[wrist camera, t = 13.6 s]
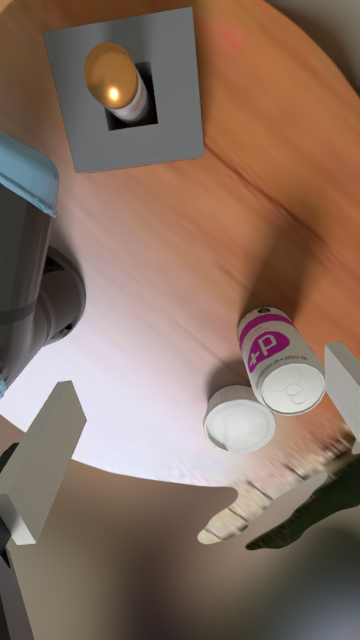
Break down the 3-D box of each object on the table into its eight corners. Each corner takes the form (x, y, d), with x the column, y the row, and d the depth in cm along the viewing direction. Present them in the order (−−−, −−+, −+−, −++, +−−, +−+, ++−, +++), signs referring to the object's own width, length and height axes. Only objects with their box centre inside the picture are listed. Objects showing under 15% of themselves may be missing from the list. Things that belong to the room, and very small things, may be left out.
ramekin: (188, 402, 55) (189, 424, 50) (241, 366, 52) (247, 386, 47) (229, 440, 58) (233, 464, 53) (280, 408, 55) (290, 431, 50)
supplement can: (225, 325, 49) (240, 384, 35) (273, 294, 46) (309, 344, 33) (254, 362, 51) (278, 430, 37) (300, 335, 49) (344, 397, 35)
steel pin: (123, 131, 38) (90, 109, 26) (116, 91, 37) (78, 46, 24) (156, 126, 38) (140, 102, 25) (150, 85, 36) (130, 37, 24)
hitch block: (90, 173, 40) (75, 172, 35) (65, 54, 35) (42, 32, 30) (202, 157, 39) (204, 154, 34) (191, 33, 34) (192, 6, 29)
